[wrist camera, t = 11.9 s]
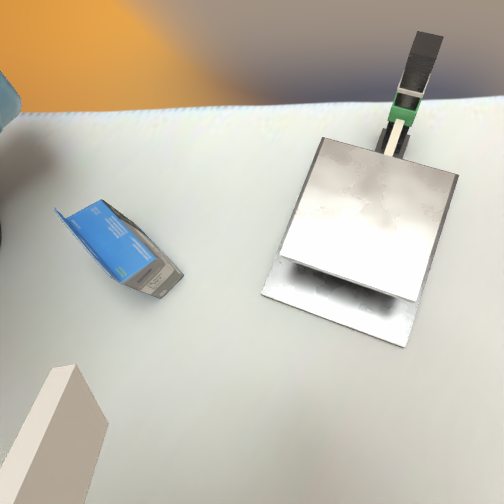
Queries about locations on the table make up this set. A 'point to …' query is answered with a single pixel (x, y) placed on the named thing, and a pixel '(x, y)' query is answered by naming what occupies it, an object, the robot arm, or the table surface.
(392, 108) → the stand
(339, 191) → the pan
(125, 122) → the table surface
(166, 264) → the label tape box
